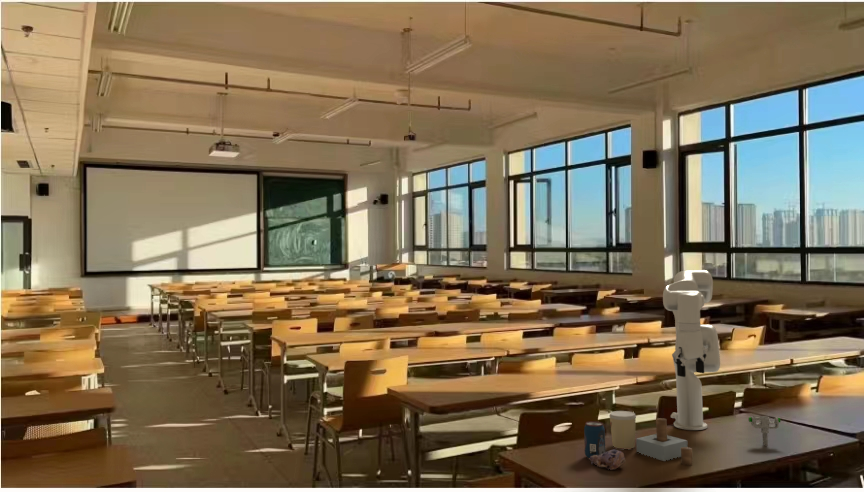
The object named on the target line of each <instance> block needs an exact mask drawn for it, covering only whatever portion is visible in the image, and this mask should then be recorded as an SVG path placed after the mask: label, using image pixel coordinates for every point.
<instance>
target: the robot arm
mask: <svg viewBox="0 0 864 492" xmlns="http://www.w3.org/2000/svg"><path fill="white" fill-rule="evenodd" d="M713 288H714V280H713V276H712V273H710V271H708V270H705V269H702V270H701V269H699V270H698V269H697V270H694V269H693V270H681V271H679V272H677V273H676V274H675V276H674V278H673V283H670V284H668V285H666V286H665V287H664V289H663V292H662V293H663V294H662V302H663V303H662V304H663V307H664V308H665V309H666V310H667V311H670V312H672V313H673V315H674V316H673V317H674V320H675V321H674V322H675V323H674V325H675V327H674V328H675V346H674V350H675V351H674V352H673V353H672V354H671V356H672V358H673V360H672V361H673V366H674V372H675V383H676V384H675V385H676V387H675V388H676V406H677V407H676V409H677V412H672V413H671V414H670V418H672V419H675V421H674V422H673V427H675V428H678V429H680V430H681V429H682V430H685V431H686V430H687V431H702V430H706V429H708V424H707V423H706V422H704V414H703V412H704V411H703V410H704V409H703V388H702V387H703V385H702V381H701V380H700V378H699V377H698V376H697V375H696V374H695V373H699V374H705V373H716V372H718V371H719V370H720V367H721V355H720V354H721V353H720V347H719V337H718V336H719V335H718V331H717V329H716V327H715V326H714V325H711V324H701V310H702V309H703V307H704V306H705V304H707V303H709V302H711V300H712V298H713Z"/></svg>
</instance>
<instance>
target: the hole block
mask: <svg viewBox="0 0 864 492" xmlns="http://www.w3.org/2000/svg"><path fill="white" fill-rule="evenodd" d="M635 443H636V444H635V446H636V453H637V452H639V453H641V454H640V455H643V454H644V455H643V456H646V455H647V456H646V457H649V456H650V458H652V457H653V458H652V459H655V458H656V459H655V460H659V461H663V462H666V460H667V461H671V460H674V459H673V458H675V459H677V457H678V458H681V448H682V447H689V446H688V440H686V439H683V438H680V437H675V436H672V435H668V434H667V441H665V442H660V441H657V434H656V433H654V434H650V435H645V436H641V437H637V438H636V437H635ZM639 453H638V454H639ZM670 459H671V460H670Z"/></svg>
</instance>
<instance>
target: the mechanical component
mask: <svg viewBox="0 0 864 492" xmlns="http://www.w3.org/2000/svg"><path fill="white" fill-rule="evenodd" d="M757 421H758V422H757ZM748 422H749V423H750V424H751V426H752V427H753V428H755V429H760V433H762V445H763V446H765V447H767V446H768V444H769V442H768V441H769V440H768V434H770V433H769V432H770V431H769V429H774V430H775V429H778V428H779V426H780V424H779V423H781V418H780V417H777V416H776V417H774V419H773V420H771V419H770V417H769V416H765V415H762V416H761V415H759V416H758V415H755V416H754V415H750V417H748ZM770 424H771V425H770ZM773 424H774V425H773Z"/></svg>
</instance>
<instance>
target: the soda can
mask: <svg viewBox="0 0 864 492" xmlns="http://www.w3.org/2000/svg"><path fill="white" fill-rule="evenodd" d="M603 424H604V423H603V422H601V421H595V420H594V421H593V420H592V421H586V422H585V425H584V427H583V428H584V429H583V432H584V434H583V435H584V454H585V456H586V458H587V457H588V458H590V456H593V455H601V454H603V453H605V452H606V433H605V432H606V430H605V427H604V425H603ZM588 458H587V459H588Z"/></svg>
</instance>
